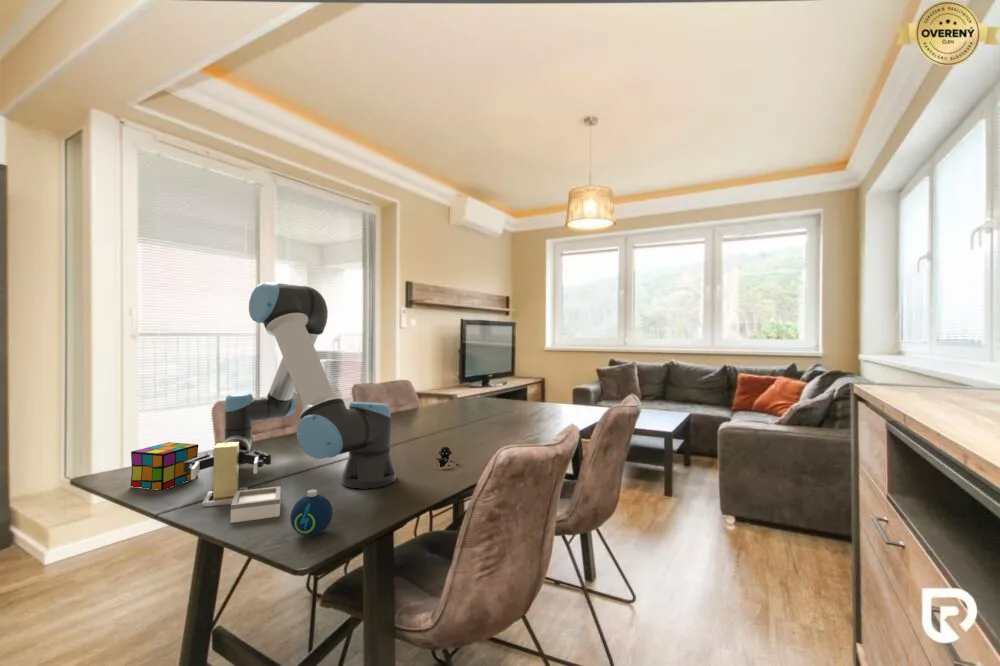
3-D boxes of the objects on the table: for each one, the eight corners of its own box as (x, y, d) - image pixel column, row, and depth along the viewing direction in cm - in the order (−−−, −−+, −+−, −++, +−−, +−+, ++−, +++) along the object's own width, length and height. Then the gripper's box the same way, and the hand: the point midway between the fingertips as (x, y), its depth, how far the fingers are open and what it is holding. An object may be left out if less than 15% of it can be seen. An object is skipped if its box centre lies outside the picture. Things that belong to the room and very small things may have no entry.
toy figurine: (426, 470, 146) (427, 452, 146) (431, 461, 156) (431, 444, 156) (457, 470, 146) (458, 452, 146) (460, 462, 156) (460, 445, 156)
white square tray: (280, 501, 116) (280, 486, 116) (279, 516, 107) (279, 499, 107) (235, 507, 112) (235, 491, 112) (230, 522, 103) (230, 505, 103)
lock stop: (238, 494, 121) (239, 441, 122) (235, 500, 117) (237, 445, 117) (216, 496, 119) (217, 443, 119) (213, 503, 115) (214, 447, 115)
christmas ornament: (280, 538, 96) (281, 491, 96) (310, 523, 104) (311, 479, 104) (312, 546, 93) (313, 496, 93) (340, 529, 101) (341, 484, 101)
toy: (162, 491, 123) (162, 454, 123) (130, 488, 125) (131, 451, 125) (197, 478, 134) (198, 444, 134) (167, 475, 136) (168, 442, 136)
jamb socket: (247, 490, 124) (247, 487, 124) (244, 502, 116) (244, 498, 116) (208, 495, 120) (208, 491, 120) (202, 507, 112) (202, 503, 112)
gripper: (281, 459, 140) (279, 480, 121) (183, 468, 130) (164, 492, 110) (281, 435, 140) (279, 451, 121) (184, 441, 130) (165, 461, 110)
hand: (224, 471), depth 115 cm, fingers open, 13 cm apart
